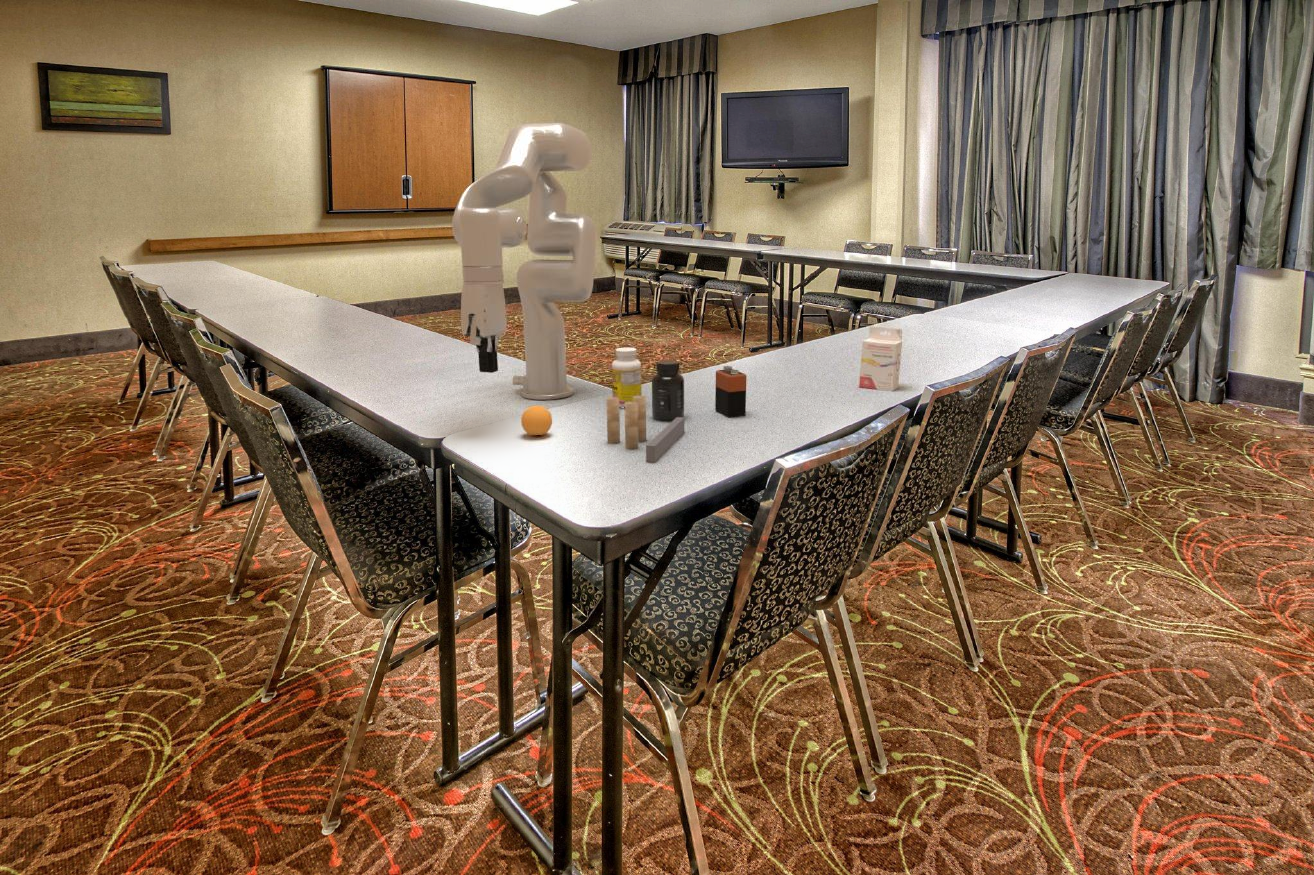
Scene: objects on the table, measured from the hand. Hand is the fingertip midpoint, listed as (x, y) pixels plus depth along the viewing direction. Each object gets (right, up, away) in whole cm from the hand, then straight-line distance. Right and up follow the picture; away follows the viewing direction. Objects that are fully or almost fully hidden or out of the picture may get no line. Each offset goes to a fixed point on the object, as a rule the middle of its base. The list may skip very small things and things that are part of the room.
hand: (488, 371), depth 153 cm
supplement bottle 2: (+35, -9, +14) cm, 39 cm away
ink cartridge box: (+87, -1, +40) cm, 96 cm away
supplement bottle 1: (+26, -6, +25) cm, 36 cm away
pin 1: (+28, -15, -7) cm, 32 cm away
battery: (+49, -8, +17) cm, 52 cm away
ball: (+9, -10, +1) cm, 13 cm away
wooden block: (+25, -14, -3) cm, 28 cm away
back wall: (+35, -14, -6) cm, 38 cm away
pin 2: (+30, -13, -2) cm, 33 cm away
